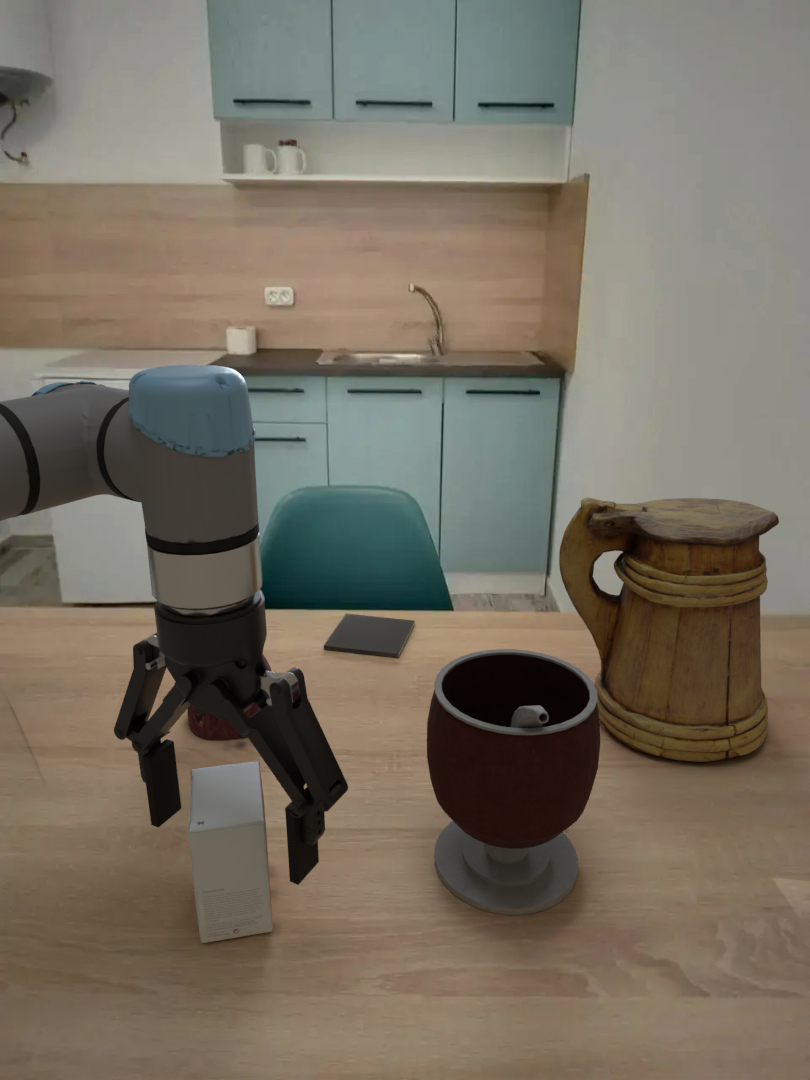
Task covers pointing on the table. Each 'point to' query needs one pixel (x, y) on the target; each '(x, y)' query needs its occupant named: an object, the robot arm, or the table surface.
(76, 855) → the table surface
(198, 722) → the vegetable
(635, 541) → the tankard
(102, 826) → the table surface
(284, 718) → the robot arm
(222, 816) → the small box
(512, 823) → the mate gourd
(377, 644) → the slate coaster
